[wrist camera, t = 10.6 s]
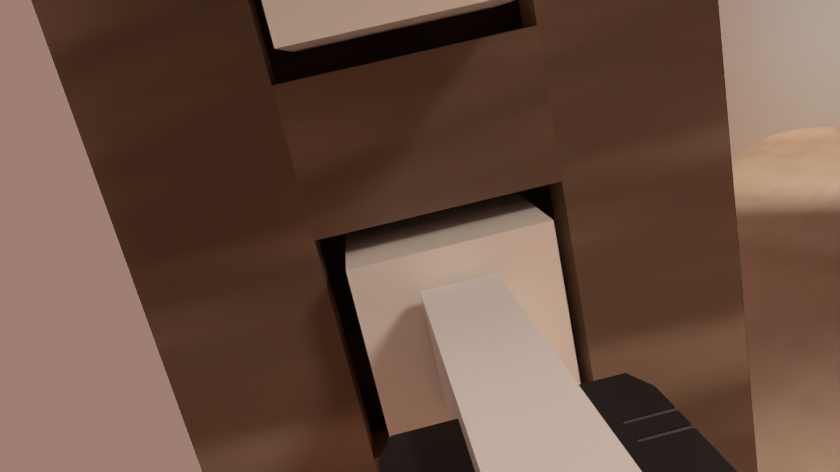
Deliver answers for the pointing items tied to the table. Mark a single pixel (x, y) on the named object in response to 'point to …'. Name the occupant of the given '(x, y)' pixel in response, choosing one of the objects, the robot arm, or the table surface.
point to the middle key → (354, 18)
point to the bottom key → (439, 266)
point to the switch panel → (406, 197)
